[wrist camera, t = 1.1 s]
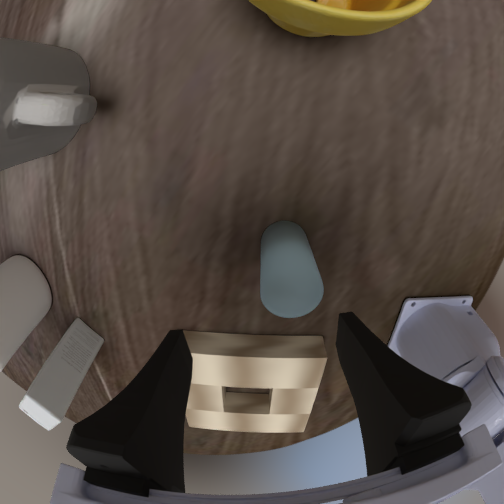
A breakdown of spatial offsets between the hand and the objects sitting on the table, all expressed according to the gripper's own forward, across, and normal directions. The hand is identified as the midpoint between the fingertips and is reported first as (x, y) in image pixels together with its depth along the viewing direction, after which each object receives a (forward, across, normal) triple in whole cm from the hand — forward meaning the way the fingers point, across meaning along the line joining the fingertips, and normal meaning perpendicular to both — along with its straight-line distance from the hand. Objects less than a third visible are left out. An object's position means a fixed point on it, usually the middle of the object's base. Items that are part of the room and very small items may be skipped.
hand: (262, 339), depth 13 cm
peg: (+11, -2, 0) cm, 11 cm away
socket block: (+10, +2, +17) cm, 20 cm away
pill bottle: (+12, +26, +3) cm, 29 cm away
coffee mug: (+12, +15, -14) cm, 24 cm away
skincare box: (+12, +21, +11) cm, 27 cm away
